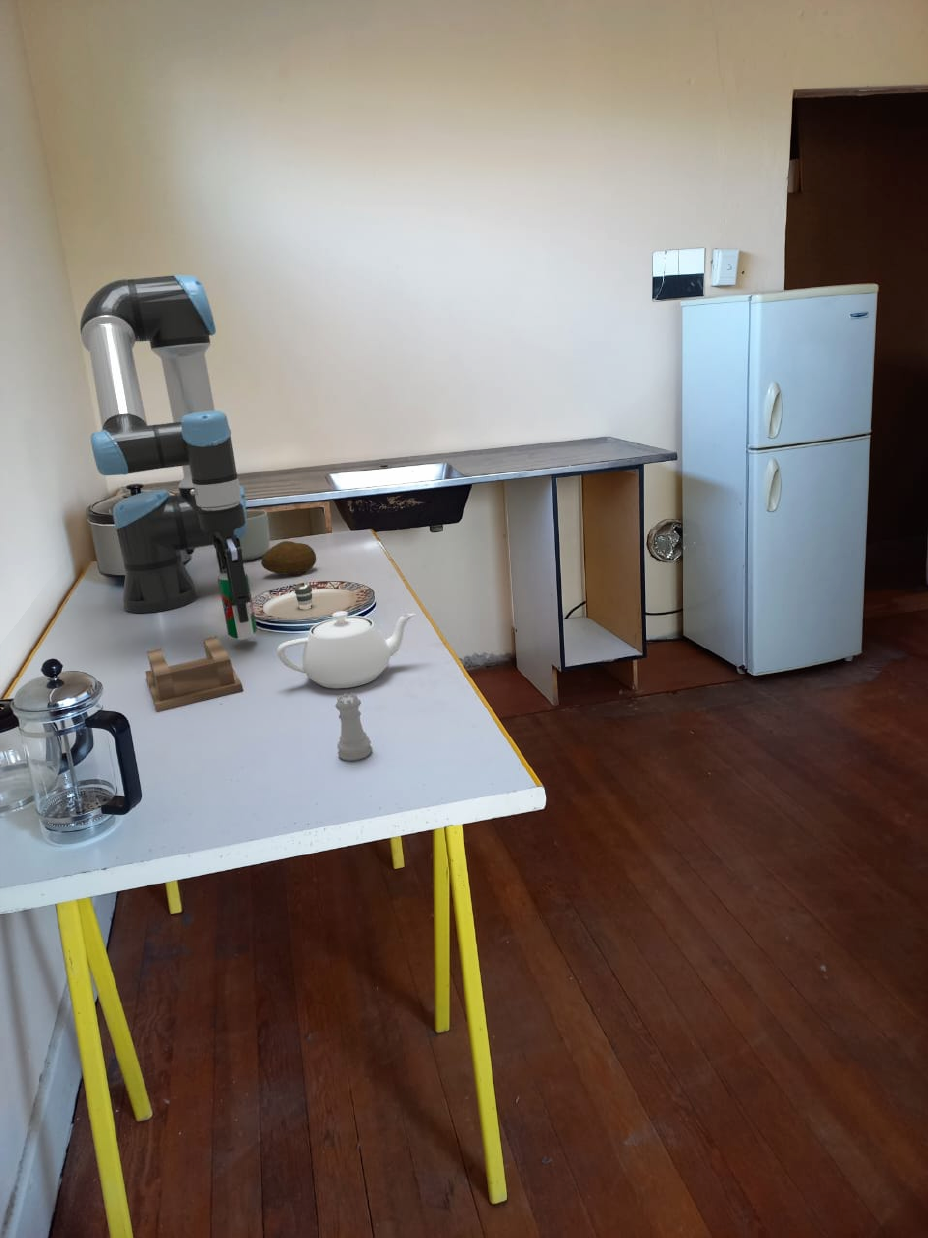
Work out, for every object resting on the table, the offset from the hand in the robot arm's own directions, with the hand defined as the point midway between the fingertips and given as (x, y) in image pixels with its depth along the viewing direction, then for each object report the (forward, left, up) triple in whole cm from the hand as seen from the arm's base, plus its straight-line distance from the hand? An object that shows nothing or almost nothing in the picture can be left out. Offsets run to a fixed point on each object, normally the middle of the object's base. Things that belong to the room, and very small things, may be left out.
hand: (242, 632), depth 158 cm
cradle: (+14, -11, -2) cm, 18 cm away
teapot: (+27, +12, -3) cm, 29 cm away
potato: (-42, +19, -3) cm, 46 cm away
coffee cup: (-14, +15, -3) cm, 21 cm away
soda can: (0, 0, -1) cm, 1 cm away
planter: (-66, +14, -3) cm, 68 cm away
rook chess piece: (+53, +4, -3) cm, 53 cm away
